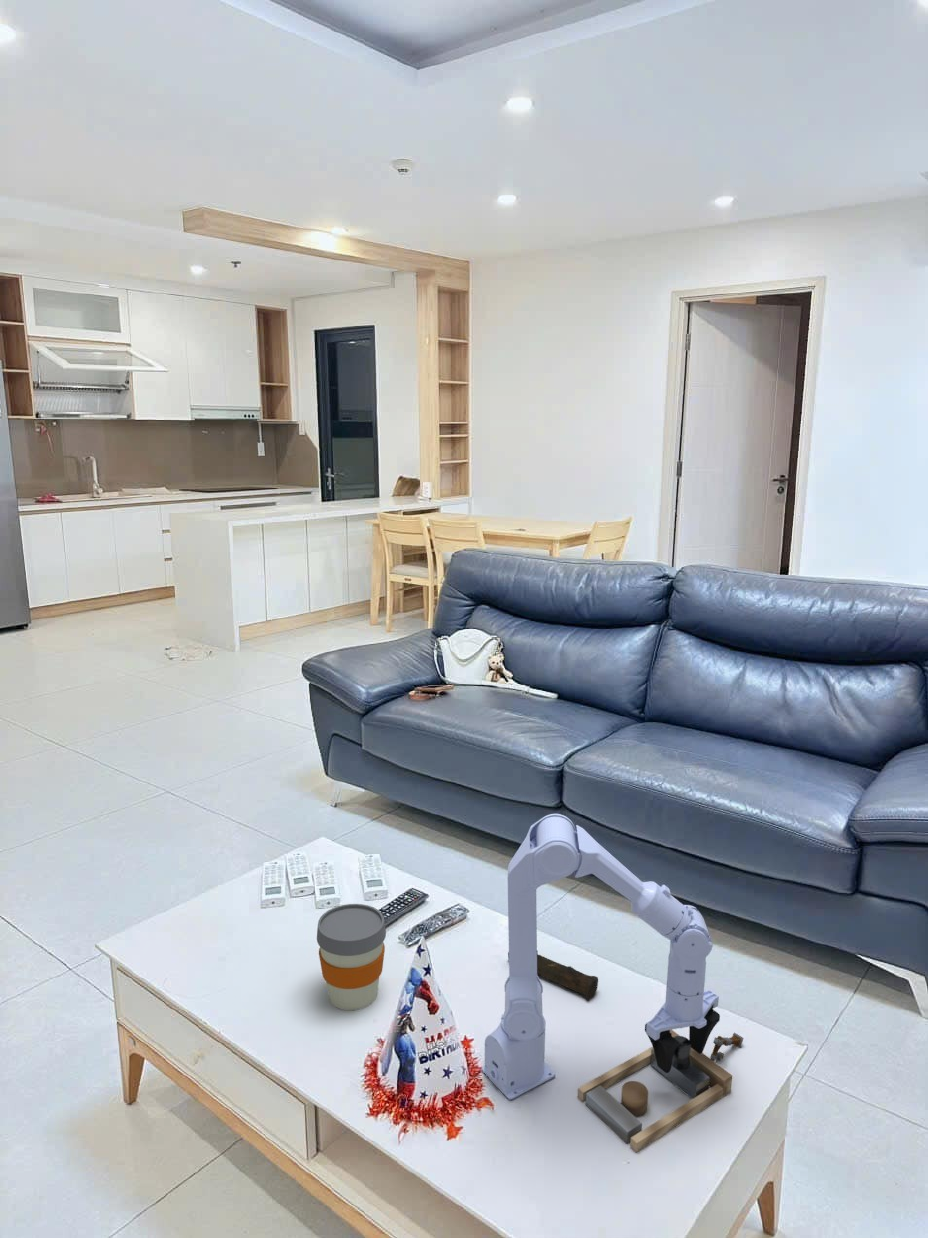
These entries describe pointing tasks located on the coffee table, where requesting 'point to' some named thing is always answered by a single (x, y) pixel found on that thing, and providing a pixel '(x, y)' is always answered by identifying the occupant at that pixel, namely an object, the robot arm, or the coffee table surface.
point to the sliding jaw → (684, 1070)
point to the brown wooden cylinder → (635, 1098)
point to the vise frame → (632, 1127)
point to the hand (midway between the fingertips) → (680, 1058)
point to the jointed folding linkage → (727, 1041)
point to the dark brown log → (567, 976)
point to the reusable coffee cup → (351, 954)
